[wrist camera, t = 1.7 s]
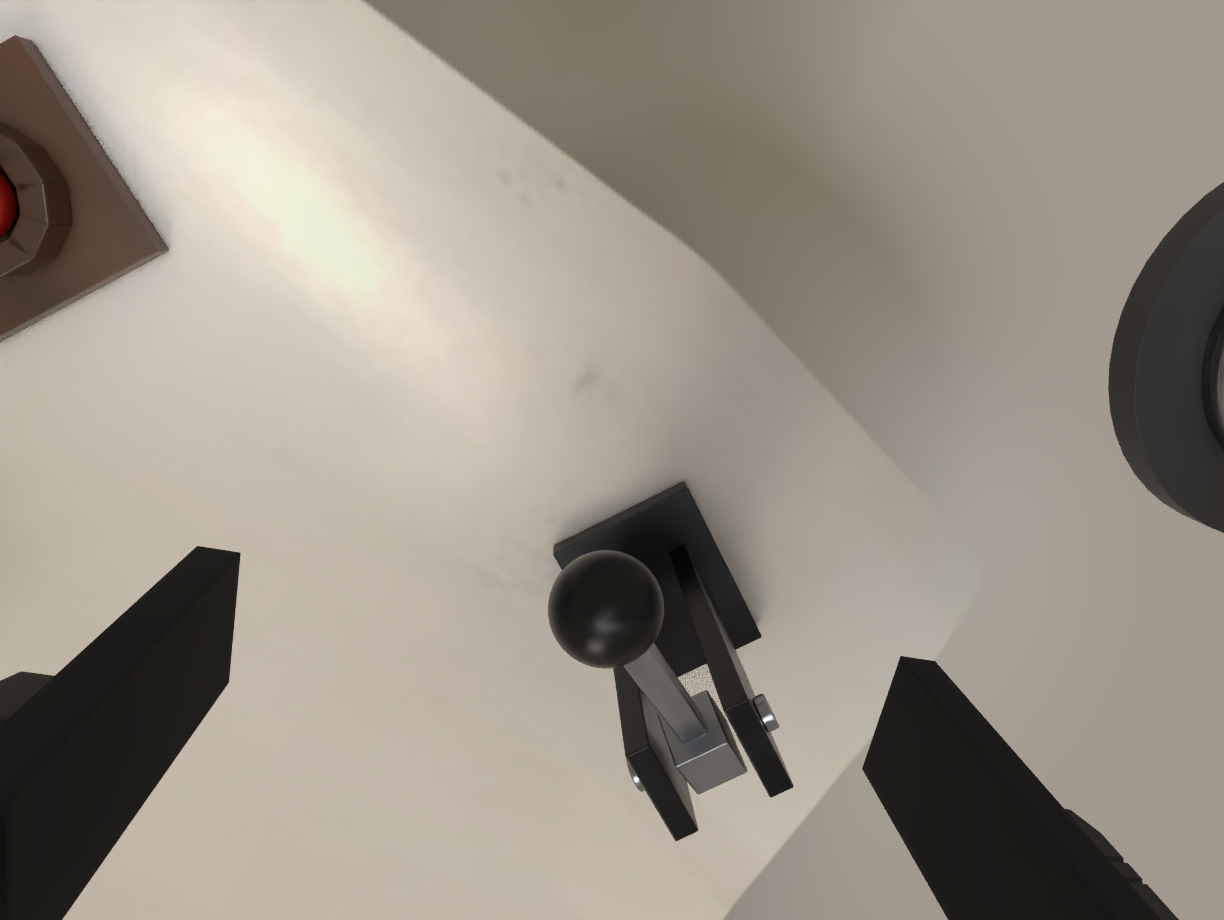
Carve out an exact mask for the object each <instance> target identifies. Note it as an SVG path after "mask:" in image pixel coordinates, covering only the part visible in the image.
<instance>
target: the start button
mask: <svg viewBox="0 0 1224 920" xmlns="http://www.w3.org/2000/svg"><path fill="white" fill-rule="evenodd" d="M15 215H16V200H15V195H14V192H13V190H12V187H11V185H10V184H9V182H8V180H7V179H6V178H5V176H4V175H3V174H2V173H1V172H0V237H1V236H3V235H4V234H5V233H6V232H7V231H8V230H9V229H10V227H11V226H12V224H13V222H14V219H15Z"/></svg>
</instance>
